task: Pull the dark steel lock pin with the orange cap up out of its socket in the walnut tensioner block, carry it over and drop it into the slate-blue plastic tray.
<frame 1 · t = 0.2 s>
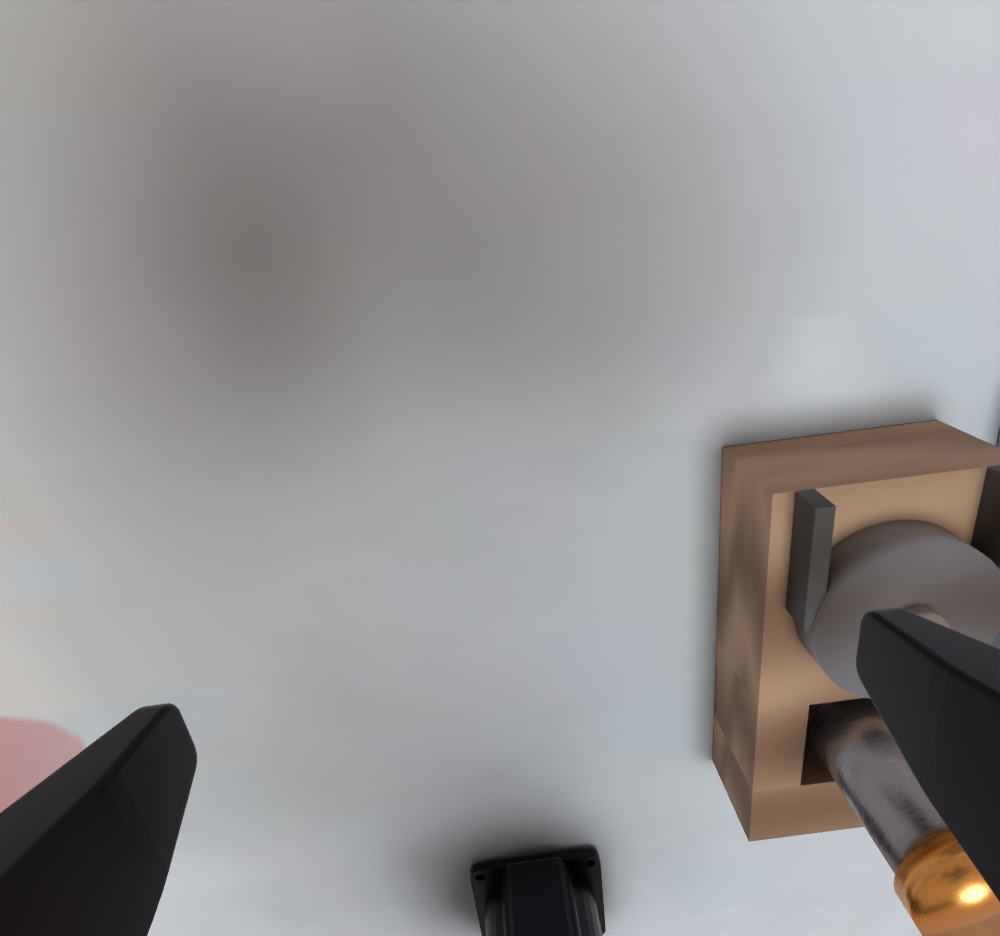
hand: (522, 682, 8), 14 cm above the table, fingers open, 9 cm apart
lock pin: (805, 666, 27), resting in tensioner block
tensioner block: (811, 611, 26), on the table
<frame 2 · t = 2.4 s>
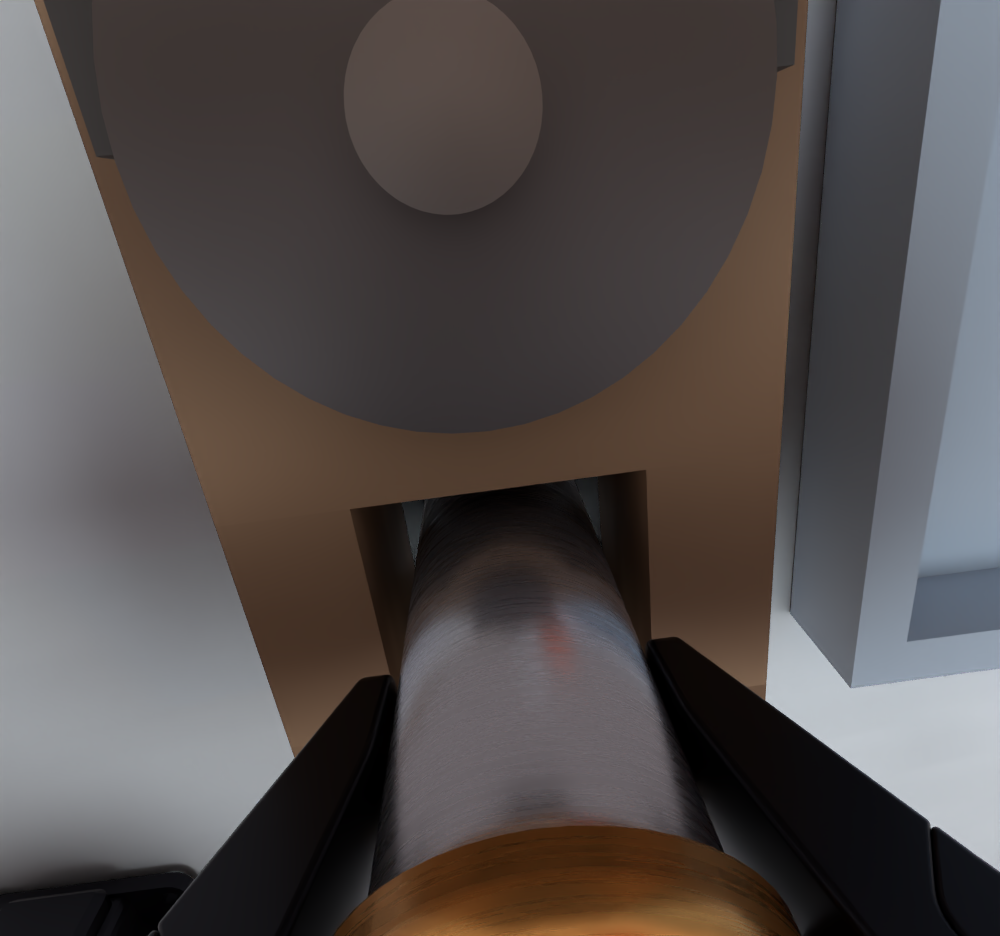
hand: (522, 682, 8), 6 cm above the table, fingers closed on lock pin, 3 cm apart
lock pin: (500, 499, 13), resting in tensioner block, touching gripper
tensioner block: (482, 362, 12), on the table
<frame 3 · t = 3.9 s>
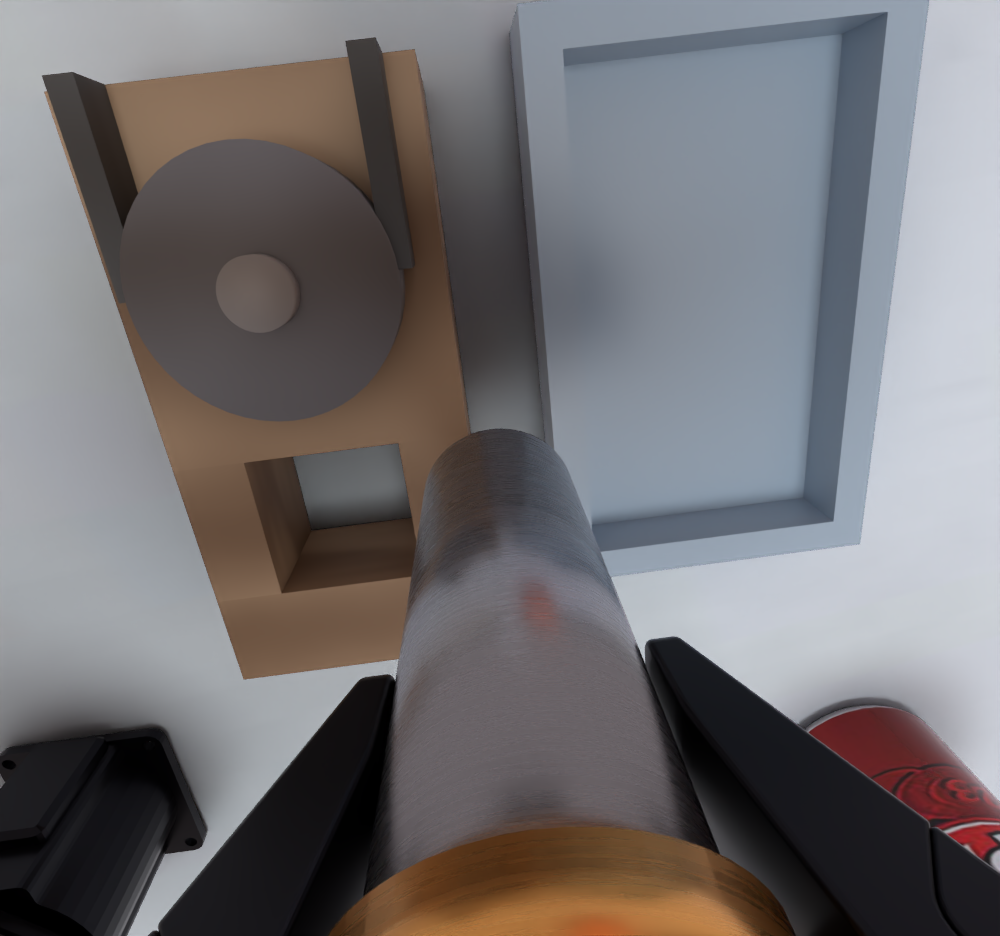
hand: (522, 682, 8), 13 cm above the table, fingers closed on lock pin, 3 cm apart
lock pin: (499, 499, 13), point 8 cm above the table, touching gripper
tensioner block: (340, 384, 20), on the table
tray: (688, 310, 20), on the table
soda can: (845, 755, 28), on the table
when the fingers open (7 cm above the table, at t = 5.6 s): lock pin drops 1 cm, resting on tray.
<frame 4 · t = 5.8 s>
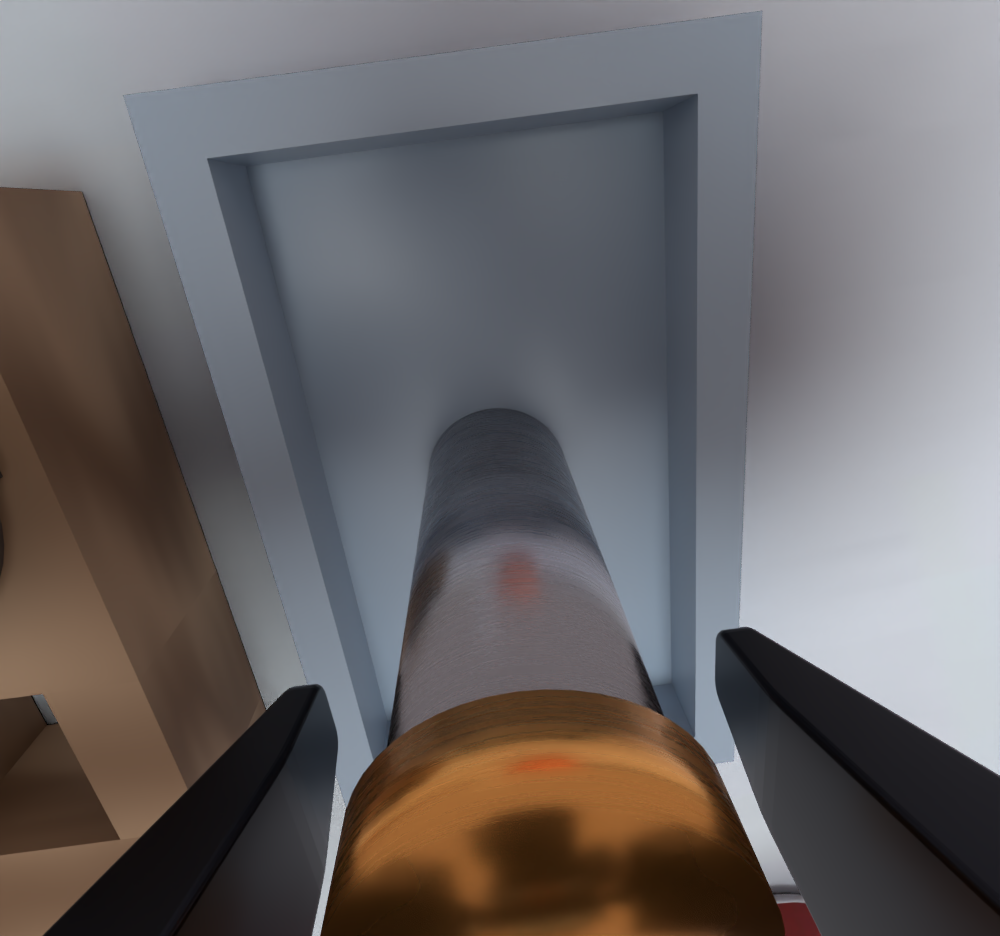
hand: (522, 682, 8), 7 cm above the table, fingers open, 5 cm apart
lock pin: (497, 473, 14), point 1 cm above the table, touching tray
tensioner block: (46, 561, 15), on the table
tray: (497, 464, 15), on the table
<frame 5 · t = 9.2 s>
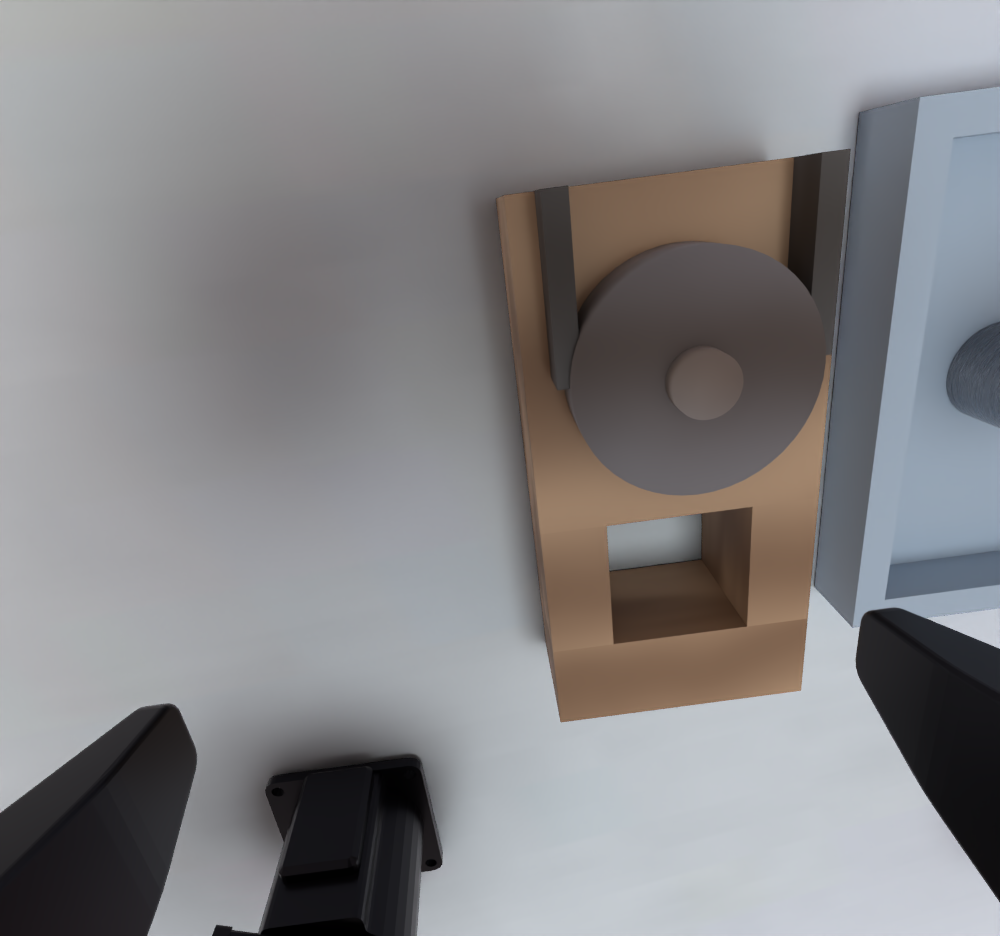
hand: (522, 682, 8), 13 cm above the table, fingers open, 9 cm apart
lock pin: (995, 370, 20), point 1 cm above the table, touching tray
tensioner block: (641, 439, 21), on the table
tray: (982, 366, 20), on the table
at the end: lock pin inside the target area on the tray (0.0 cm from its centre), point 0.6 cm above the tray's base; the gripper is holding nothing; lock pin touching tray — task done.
